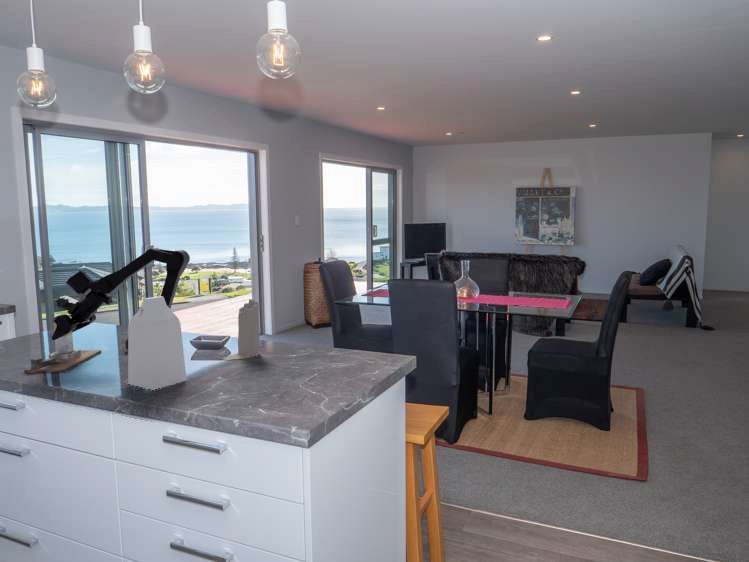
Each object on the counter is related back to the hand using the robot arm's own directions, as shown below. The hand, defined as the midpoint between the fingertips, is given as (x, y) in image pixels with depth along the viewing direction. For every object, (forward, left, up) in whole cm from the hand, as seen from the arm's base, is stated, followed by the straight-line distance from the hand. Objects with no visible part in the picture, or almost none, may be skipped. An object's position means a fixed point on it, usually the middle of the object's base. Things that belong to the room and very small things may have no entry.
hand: (59, 336), depth 195 cm
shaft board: (-1, 0, -9) cm, 9 cm away
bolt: (-25, -16, -9) cm, 32 cm away
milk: (-35, +33, -9) cm, 49 cm away
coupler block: (-1, 0, -8) cm, 8 cm away
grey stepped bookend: (-60, +7, -9) cm, 61 cm away
